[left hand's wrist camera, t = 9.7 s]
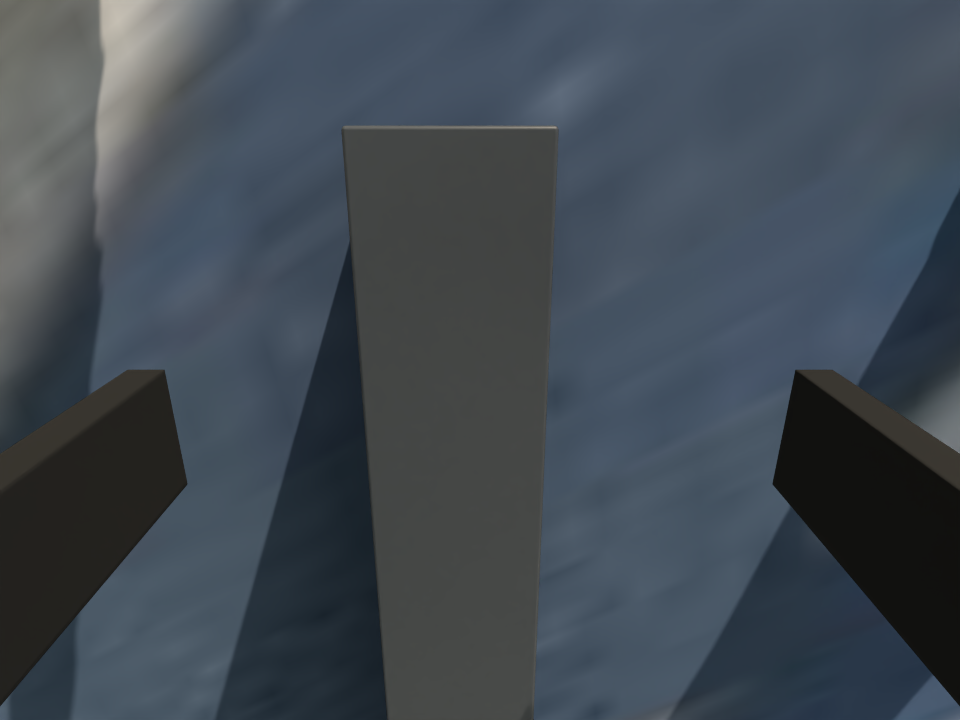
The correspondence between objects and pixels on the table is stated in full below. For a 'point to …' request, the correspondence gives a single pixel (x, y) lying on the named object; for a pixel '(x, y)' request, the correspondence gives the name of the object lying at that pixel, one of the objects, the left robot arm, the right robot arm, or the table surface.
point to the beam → (454, 403)
